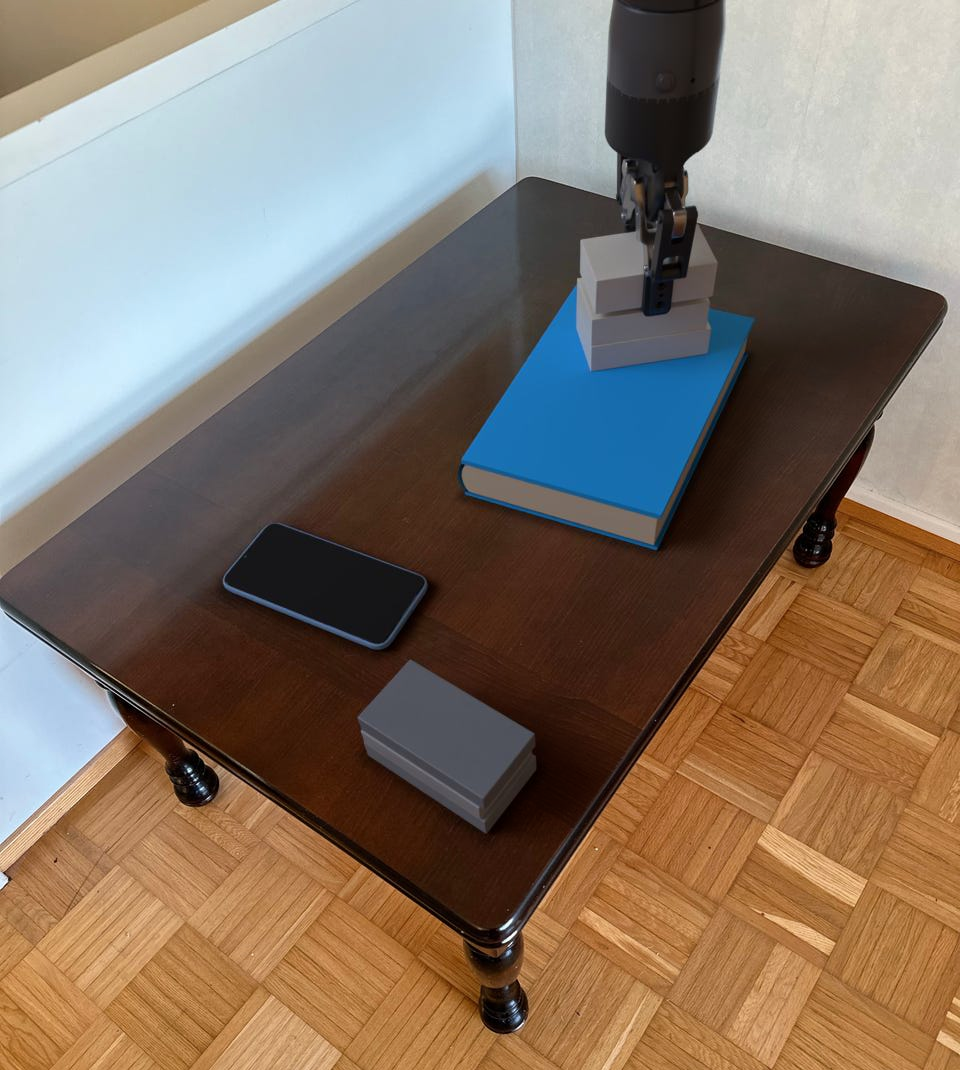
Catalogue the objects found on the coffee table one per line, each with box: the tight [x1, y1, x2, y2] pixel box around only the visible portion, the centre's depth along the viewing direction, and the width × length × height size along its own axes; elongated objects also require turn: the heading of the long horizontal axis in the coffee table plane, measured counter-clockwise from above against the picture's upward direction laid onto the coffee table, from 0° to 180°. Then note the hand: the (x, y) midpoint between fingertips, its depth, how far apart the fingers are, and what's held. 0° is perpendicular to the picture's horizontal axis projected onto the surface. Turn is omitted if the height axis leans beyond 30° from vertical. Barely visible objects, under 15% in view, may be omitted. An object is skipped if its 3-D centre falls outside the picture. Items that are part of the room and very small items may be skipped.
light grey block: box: [579, 223, 718, 314], centre depth 75 cm, size 10×6×3 cm, turn 98°
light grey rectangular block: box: [576, 277, 711, 371], centre depth 78 cm, size 10×6×5 cm, turn 98°
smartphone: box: [222, 522, 428, 651], centre depth 72 cm, size 7×1×15 cm
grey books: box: [357, 659, 537, 834], centre depth 60 cm, size 10×6×5 cm, turn 53°
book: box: [457, 283, 756, 551], centre depth 79 cm, size 17×4×25 cm
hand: (645, 288), depth 76 cm, fingers closed on light grey block, 5 cm apart
